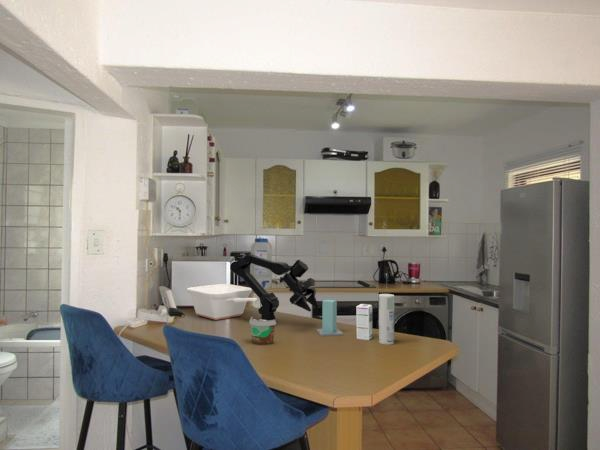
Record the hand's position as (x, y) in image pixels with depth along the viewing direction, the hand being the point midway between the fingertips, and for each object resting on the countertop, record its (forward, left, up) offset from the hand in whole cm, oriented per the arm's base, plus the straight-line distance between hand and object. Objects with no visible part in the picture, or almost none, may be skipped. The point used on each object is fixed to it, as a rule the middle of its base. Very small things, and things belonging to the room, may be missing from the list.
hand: (314, 309), depth 194 cm
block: (+6, -4, -9) cm, 12 cm away
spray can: (+26, -24, -10) cm, 37 cm away
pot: (-40, +34, -10) cm, 53 cm away
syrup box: (+19, -16, -10) cm, 27 cm away
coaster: (+6, -5, -10) cm, 13 cm away
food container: (-27, -18, -10) cm, 34 cm away
